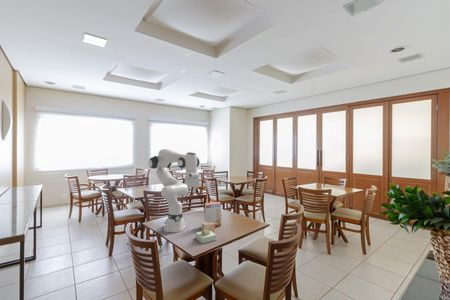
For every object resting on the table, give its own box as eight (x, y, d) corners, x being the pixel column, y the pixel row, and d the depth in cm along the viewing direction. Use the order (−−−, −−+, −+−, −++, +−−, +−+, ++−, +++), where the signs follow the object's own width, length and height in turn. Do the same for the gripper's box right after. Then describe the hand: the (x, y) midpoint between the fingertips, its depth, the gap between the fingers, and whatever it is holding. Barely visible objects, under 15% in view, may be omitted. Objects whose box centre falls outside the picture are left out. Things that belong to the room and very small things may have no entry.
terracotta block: (206, 231, 182) (206, 223, 182) (210, 230, 186) (210, 221, 186) (210, 233, 179) (210, 224, 179) (214, 231, 183) (214, 223, 182)
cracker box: (219, 223, 201) (219, 201, 201) (221, 225, 196) (221, 203, 195) (204, 225, 196) (204, 202, 196) (206, 227, 191) (206, 204, 191)
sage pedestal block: (195, 237, 170) (195, 232, 170) (209, 234, 176) (209, 229, 176) (202, 243, 160) (202, 238, 160) (216, 240, 166) (216, 234, 166)
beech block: (201, 233, 169) (201, 223, 169) (207, 232, 171) (207, 221, 171) (204, 235, 164) (204, 225, 164) (210, 234, 167) (210, 223, 167)
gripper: (182, 172, 174) (182, 189, 174) (192, 175, 156) (192, 194, 156) (190, 172, 177) (190, 188, 177) (200, 174, 159) (200, 193, 160)
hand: (191, 191), depth 166 cm, fingers open, 8 cm apart
